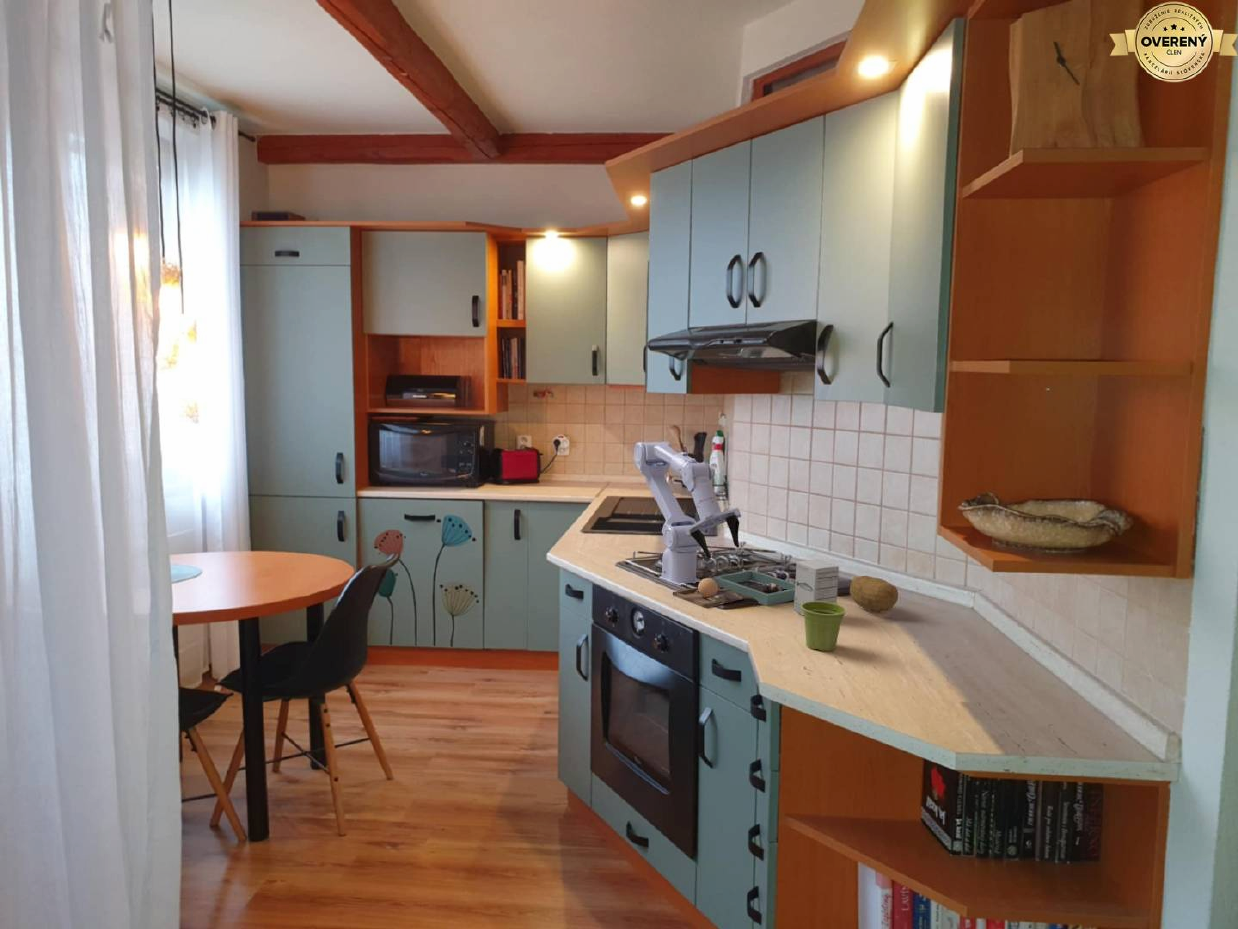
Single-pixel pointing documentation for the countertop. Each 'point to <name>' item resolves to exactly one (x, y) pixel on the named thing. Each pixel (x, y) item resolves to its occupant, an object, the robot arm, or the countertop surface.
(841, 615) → the plant pot
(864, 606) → the potato
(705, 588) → the ball
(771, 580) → the tray
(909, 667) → the countertop surface
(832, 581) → the supplement box
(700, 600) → the wooden trivet
